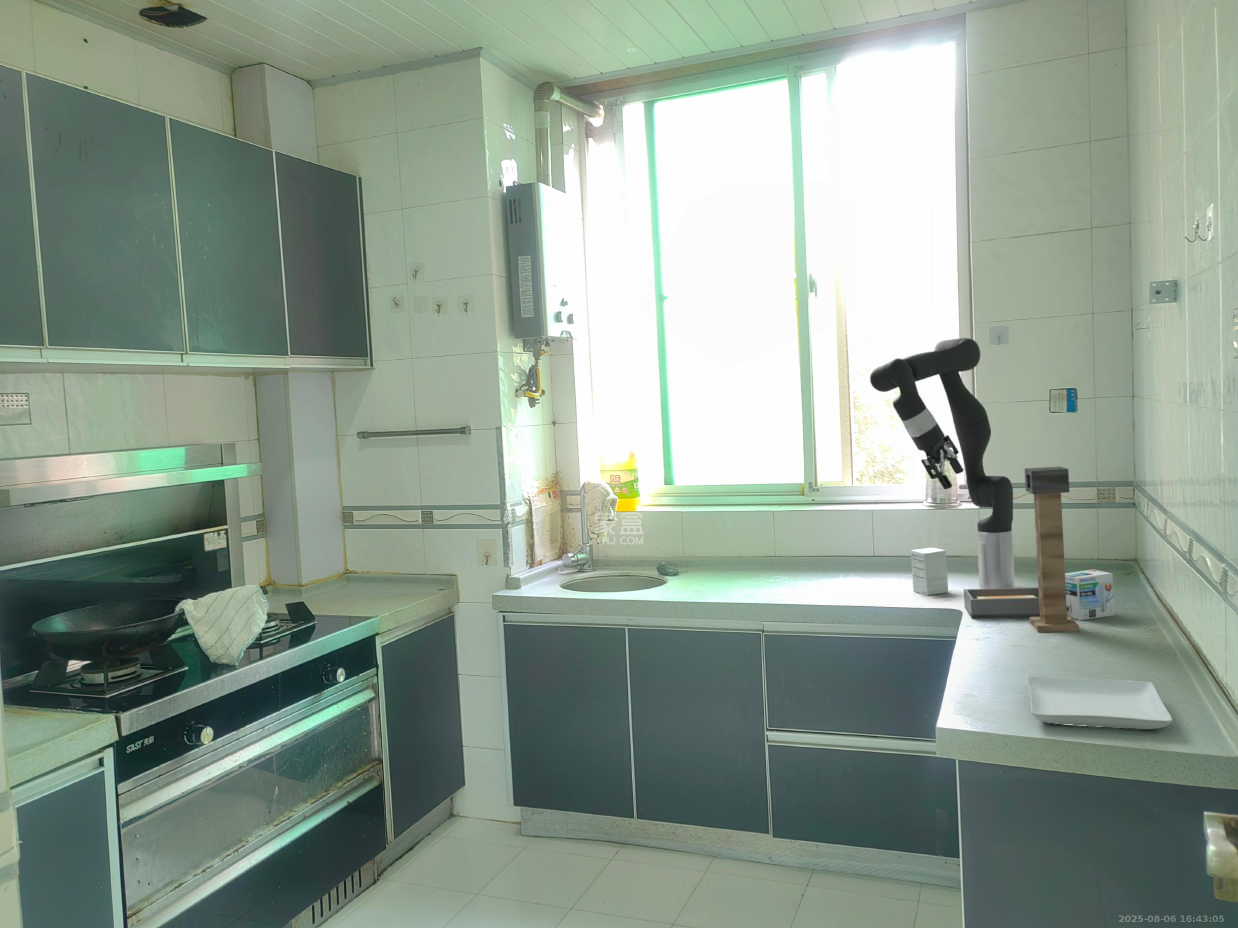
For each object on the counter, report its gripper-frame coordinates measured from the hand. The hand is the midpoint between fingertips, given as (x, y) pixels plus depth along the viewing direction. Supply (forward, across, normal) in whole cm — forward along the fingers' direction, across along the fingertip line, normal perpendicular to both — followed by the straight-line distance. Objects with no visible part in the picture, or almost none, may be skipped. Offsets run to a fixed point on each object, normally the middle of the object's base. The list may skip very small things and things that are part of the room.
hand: (954, 480), depth 236 cm
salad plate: (+25, +71, +43) cm, 87 cm away
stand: (+37, +18, +14) cm, 43 cm away
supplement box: (+33, -6, -30) cm, 45 cm away
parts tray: (+36, +8, -1) cm, 37 cm away
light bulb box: (+44, +5, +15) cm, 46 cm away
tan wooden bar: (+35, +8, -1) cm, 36 cm away
